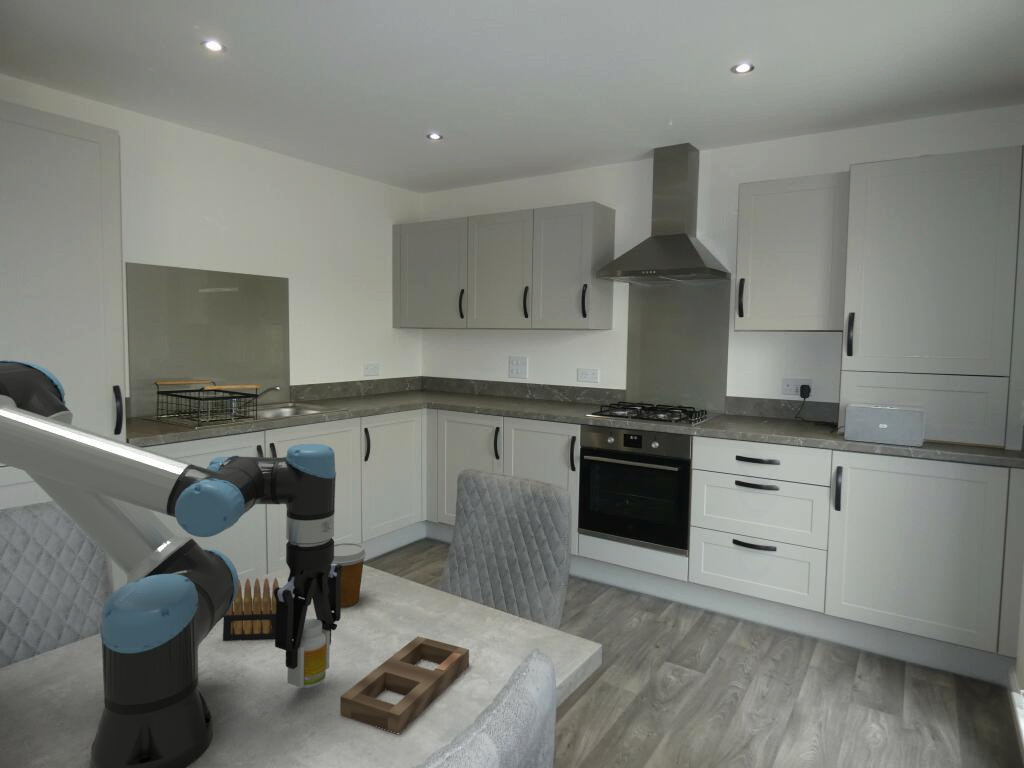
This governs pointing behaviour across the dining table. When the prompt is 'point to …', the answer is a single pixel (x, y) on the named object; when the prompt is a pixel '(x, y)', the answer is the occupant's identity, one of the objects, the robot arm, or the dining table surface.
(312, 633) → the supplement bottle
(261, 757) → the dining table surface
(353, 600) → the disposable coffee cup
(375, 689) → the rack
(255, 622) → the ammunition clip
